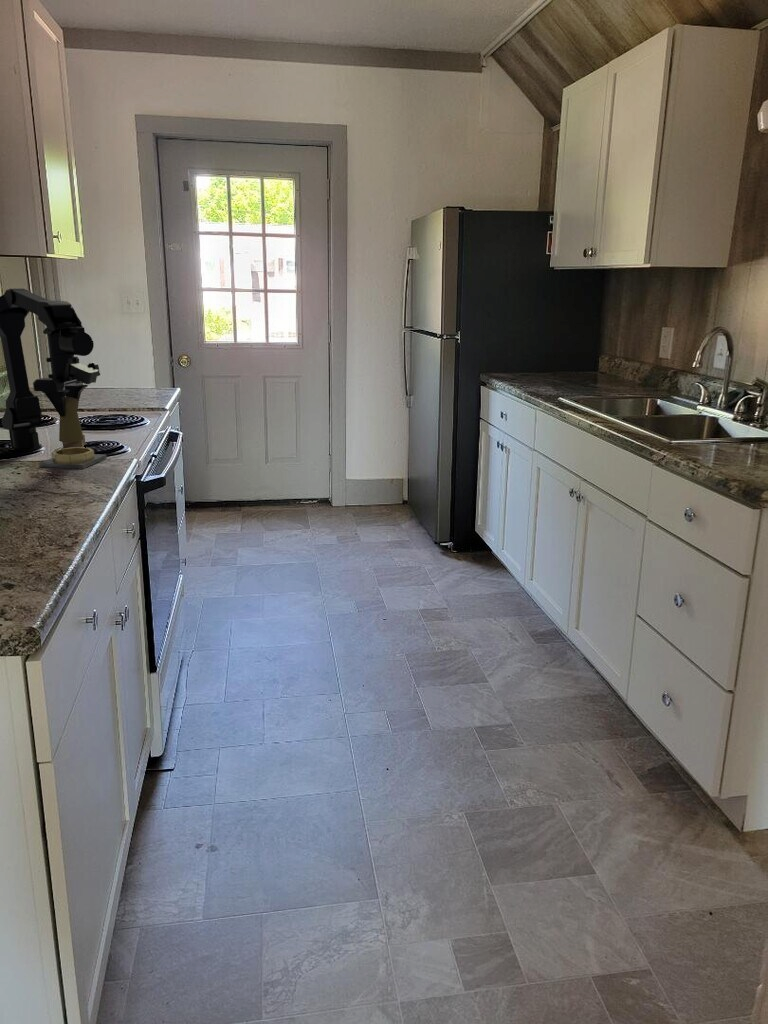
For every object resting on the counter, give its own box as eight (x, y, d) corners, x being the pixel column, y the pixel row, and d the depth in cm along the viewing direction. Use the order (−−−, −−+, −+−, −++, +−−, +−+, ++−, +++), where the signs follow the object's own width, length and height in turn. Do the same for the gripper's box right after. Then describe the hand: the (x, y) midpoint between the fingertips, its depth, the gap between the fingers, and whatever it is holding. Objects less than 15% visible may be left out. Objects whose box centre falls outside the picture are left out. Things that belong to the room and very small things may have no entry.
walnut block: (63, 452, 211) (62, 438, 210) (67, 448, 216) (65, 434, 215) (82, 452, 212) (81, 437, 211) (86, 448, 217) (84, 434, 216)
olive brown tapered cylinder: (88, 437, 201) (83, 395, 197) (77, 442, 195) (72, 399, 192) (66, 436, 201) (61, 395, 198) (54, 441, 195) (49, 398, 192)
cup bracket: (39, 466, 195) (38, 455, 194) (65, 456, 206) (64, 445, 205) (83, 468, 193) (81, 457, 192) (106, 458, 204) (105, 447, 203)
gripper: (70, 357, 181) (78, 422, 186) (110, 350, 199) (115, 410, 204) (28, 356, 183) (36, 420, 188) (70, 349, 201) (77, 408, 205)
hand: (68, 414), depth 196 cm, fingers closed on olive brown tapered cylinder, 5 cm apart
